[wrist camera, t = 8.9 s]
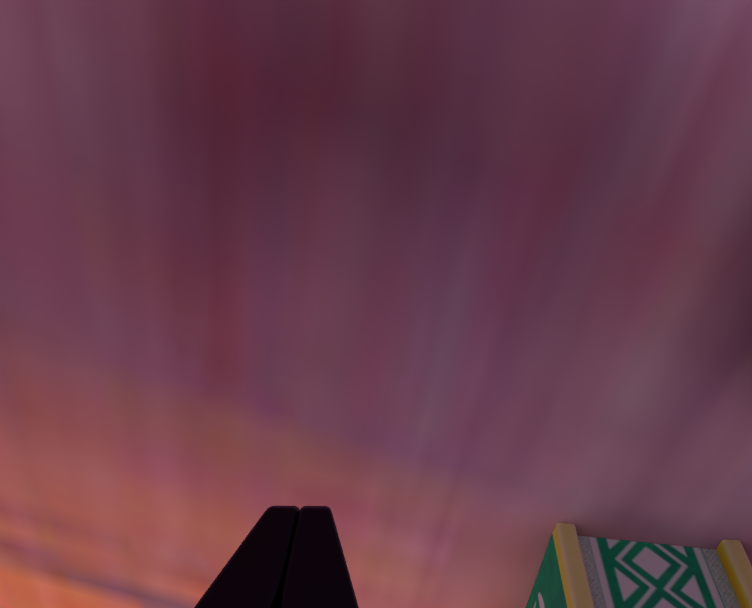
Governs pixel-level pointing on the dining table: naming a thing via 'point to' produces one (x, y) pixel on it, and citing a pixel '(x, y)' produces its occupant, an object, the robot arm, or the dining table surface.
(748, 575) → the green dumbbell-shaped piece
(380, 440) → the dining table surface
